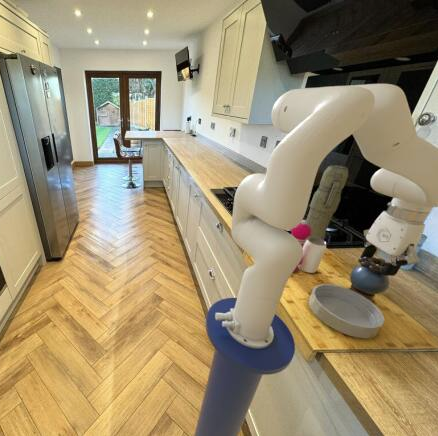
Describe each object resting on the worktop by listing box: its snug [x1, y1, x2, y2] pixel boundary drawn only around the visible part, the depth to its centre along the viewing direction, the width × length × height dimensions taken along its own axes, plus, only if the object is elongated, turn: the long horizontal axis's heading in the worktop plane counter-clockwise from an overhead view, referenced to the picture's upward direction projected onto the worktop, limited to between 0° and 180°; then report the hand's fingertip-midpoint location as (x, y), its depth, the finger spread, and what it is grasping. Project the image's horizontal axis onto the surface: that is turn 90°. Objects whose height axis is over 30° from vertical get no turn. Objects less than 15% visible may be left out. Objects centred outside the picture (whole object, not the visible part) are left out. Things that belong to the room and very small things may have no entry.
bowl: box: [307, 283, 385, 339], centre depth 68 cm, size 16×16×4 cm
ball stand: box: [348, 264, 390, 302], centre depth 74 cm, size 9×9×12 cm
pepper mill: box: [290, 219, 311, 274], centre depth 84 cm, size 7×7×20 cm
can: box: [298, 237, 327, 274], centre depth 86 cm, size 6×6×12 cm
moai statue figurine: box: [302, 164, 349, 248], centre depth 96 cm, size 9×12×35 cm
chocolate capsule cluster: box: [357, 256, 391, 274], centre depth 71 cm, size 9×7×2 cm
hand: (376, 266), depth 71 cm, fingers closed on chocolate capsule cluster, 7 cm apart
